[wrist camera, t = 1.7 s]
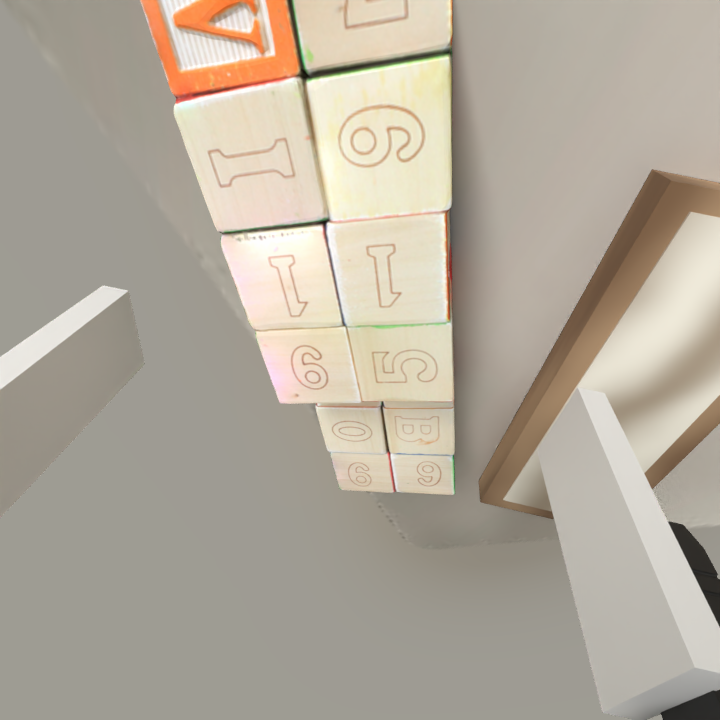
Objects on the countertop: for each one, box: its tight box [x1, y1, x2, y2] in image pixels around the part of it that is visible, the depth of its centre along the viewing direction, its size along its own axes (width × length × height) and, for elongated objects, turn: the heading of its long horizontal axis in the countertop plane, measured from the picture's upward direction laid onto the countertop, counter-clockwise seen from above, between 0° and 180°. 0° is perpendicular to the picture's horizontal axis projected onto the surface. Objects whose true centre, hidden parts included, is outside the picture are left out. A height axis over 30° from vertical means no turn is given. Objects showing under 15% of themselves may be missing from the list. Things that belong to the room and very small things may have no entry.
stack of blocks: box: [140, 0, 455, 495], centre depth 18 cm, size 21×6×12 cm, turn 8°
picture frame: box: [479, 170, 720, 519], centre depth 25 cm, size 10×24×2 cm, turn 171°
